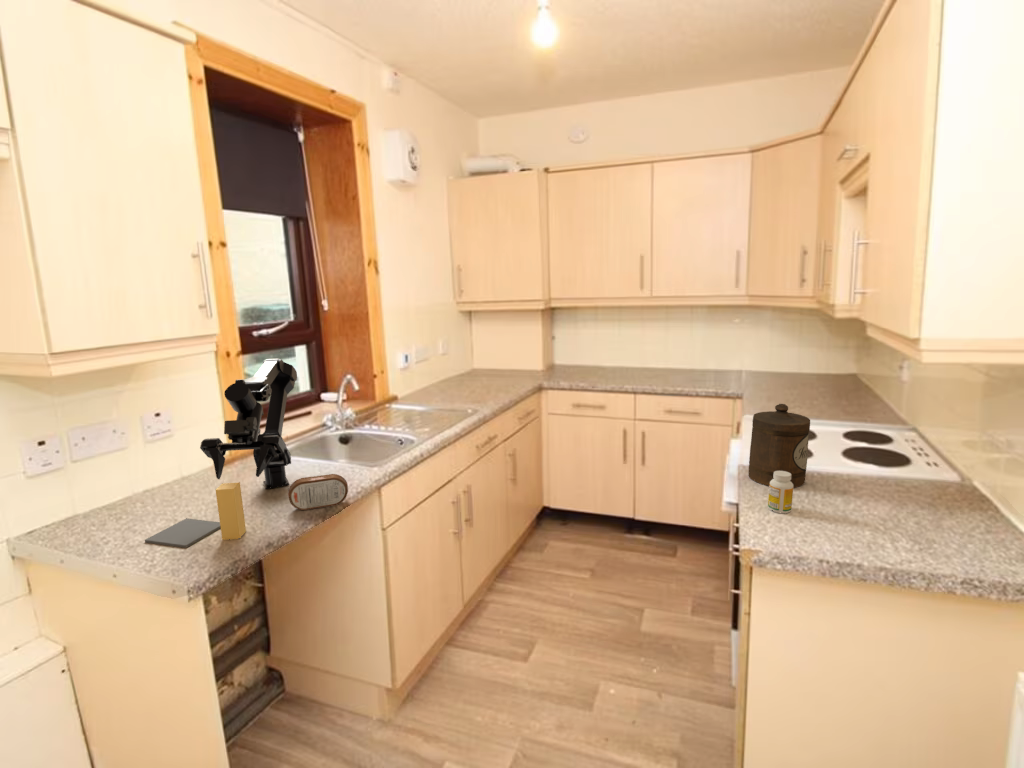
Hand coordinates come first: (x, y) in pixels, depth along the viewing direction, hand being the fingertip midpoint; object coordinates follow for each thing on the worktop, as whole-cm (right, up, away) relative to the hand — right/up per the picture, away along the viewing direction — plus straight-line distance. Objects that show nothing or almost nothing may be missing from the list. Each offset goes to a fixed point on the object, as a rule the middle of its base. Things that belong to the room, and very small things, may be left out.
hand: (237, 477), depth 138 cm
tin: (+16, -10, +12) cm, 22 cm away
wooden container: (+143, -5, +24) cm, 145 cm away
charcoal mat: (-11, -13, -2) cm, 18 cm away
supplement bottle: (+134, -9, +3) cm, 135 cm away
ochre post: (+1, -13, -4) cm, 14 cm away
